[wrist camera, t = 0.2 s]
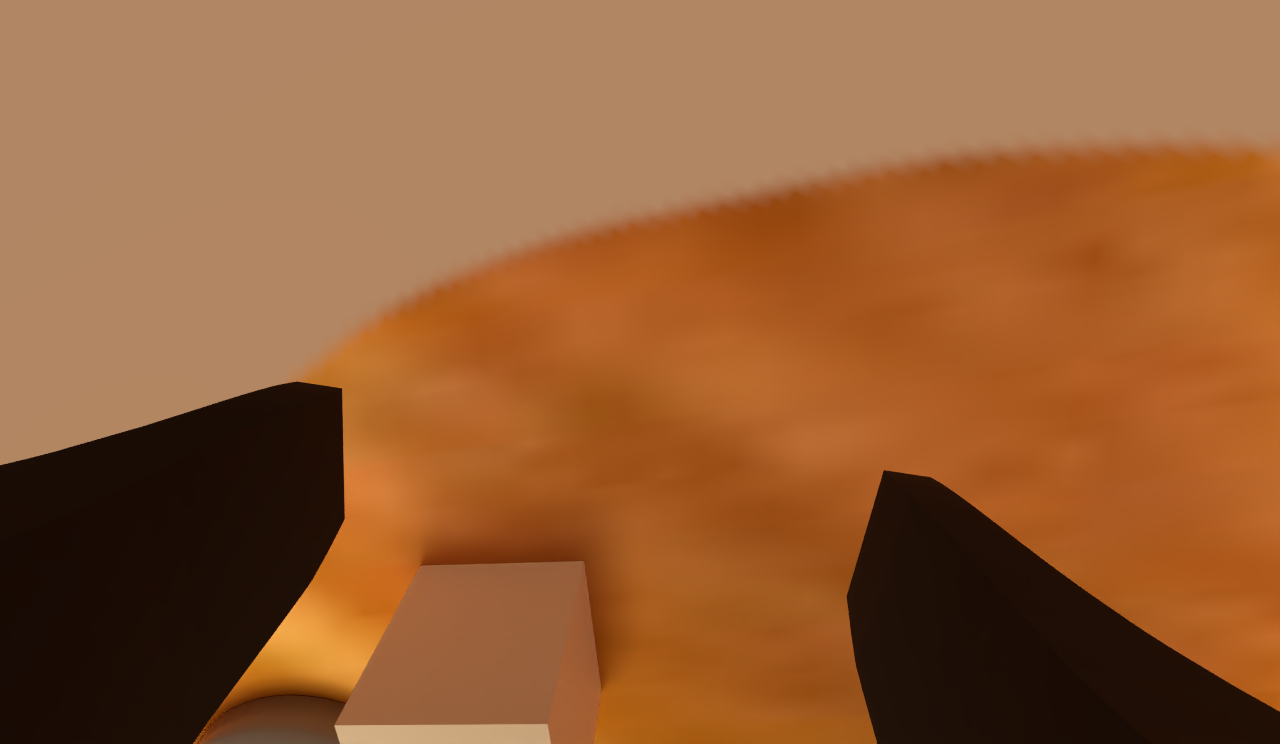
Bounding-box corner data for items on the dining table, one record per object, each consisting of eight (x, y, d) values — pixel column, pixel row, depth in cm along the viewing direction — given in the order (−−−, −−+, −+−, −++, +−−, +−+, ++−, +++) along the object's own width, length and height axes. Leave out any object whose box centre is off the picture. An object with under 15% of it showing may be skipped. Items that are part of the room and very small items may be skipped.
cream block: (601, 689, 25) (573, 874, 19) (450, 690, 25) (380, 871, 20) (584, 560, 23) (547, 724, 17) (420, 564, 23) (334, 725, 18)
